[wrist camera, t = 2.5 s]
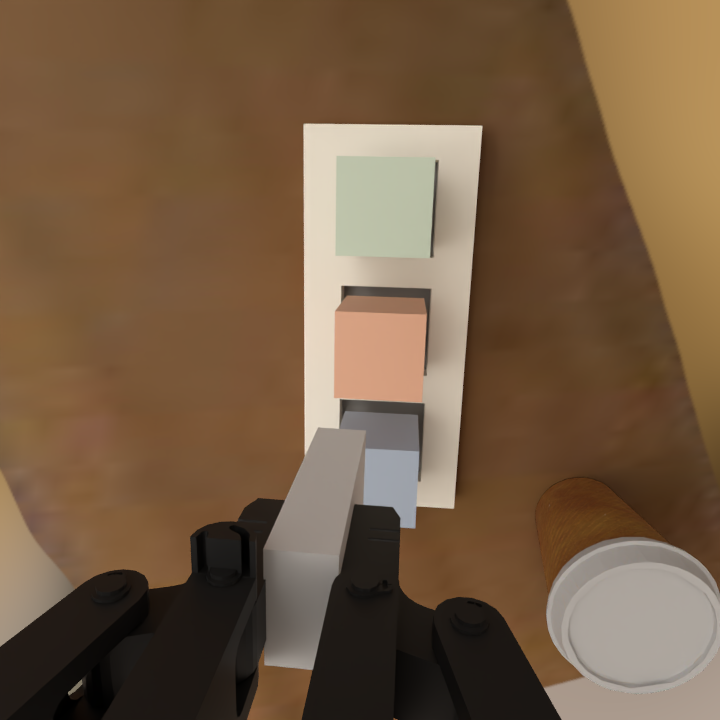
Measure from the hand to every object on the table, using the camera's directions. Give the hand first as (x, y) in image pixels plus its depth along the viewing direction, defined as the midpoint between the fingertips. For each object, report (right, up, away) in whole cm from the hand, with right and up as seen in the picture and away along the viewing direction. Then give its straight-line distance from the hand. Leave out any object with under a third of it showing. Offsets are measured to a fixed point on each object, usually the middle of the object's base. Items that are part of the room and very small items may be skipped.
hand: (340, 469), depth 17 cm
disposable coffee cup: (+17, -8, +25) cm, 31 cm away
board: (+2, +6, +22) cm, 23 cm away
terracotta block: (+2, +5, +19) cm, 20 cm away
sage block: (+2, +13, +17) cm, 21 cm away
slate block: (+2, -3, +21) cm, 21 cm away
